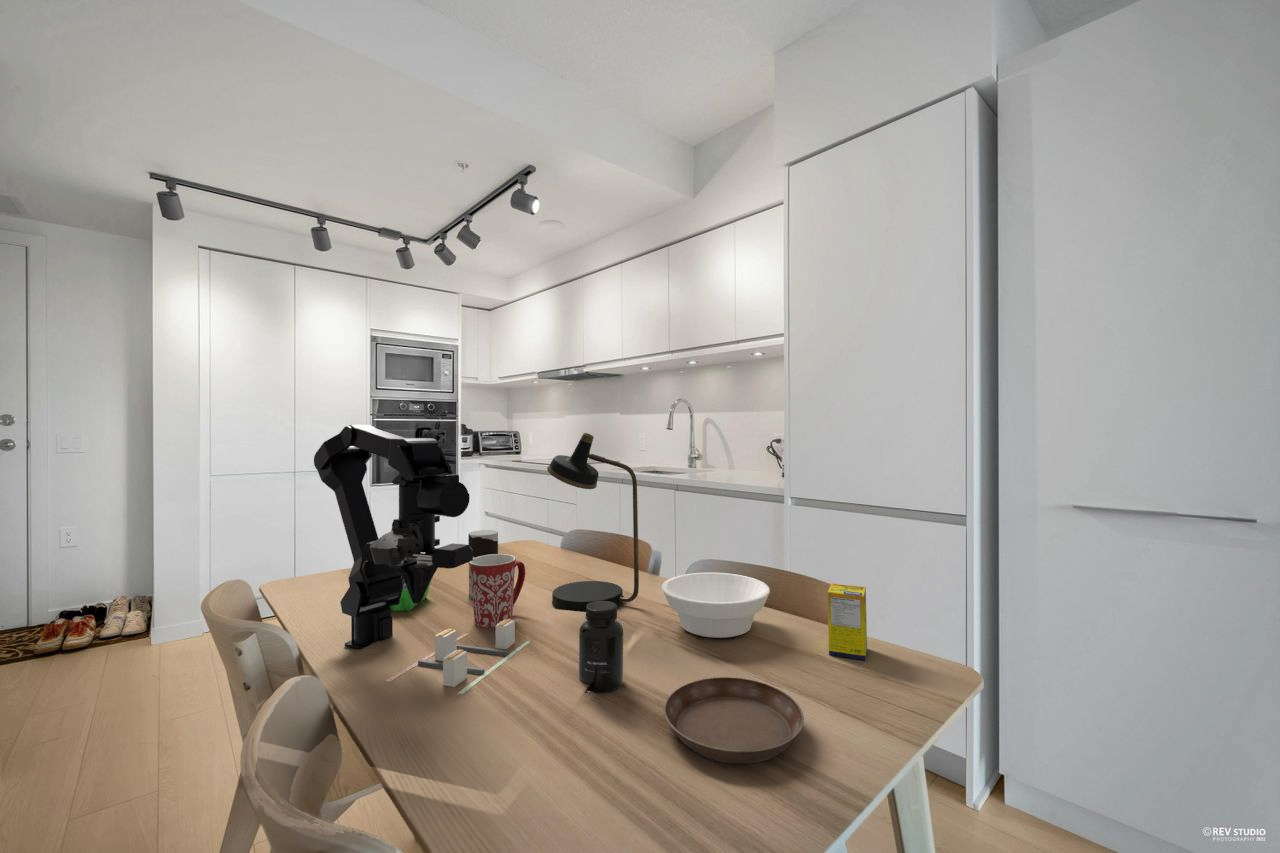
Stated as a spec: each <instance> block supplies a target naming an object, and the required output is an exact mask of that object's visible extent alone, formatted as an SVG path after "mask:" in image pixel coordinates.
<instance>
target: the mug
mask: <svg viewBox="0 0 1280 853" xmlns="http://www.w3.org/2000/svg"><path fill="white" fill-rule="evenodd" d="M469 564H470V568H471V583H472V596H473V600H472V608H473V620H474V622H473V623H474V625H475V626H477V627H481V628H496V625H497V624H498V623H500V622H501V621H503V620H505V619H506V620H507V619H512V620H513V614H514V611H513V610H514V606H515V604H516V603H517V600H518V599H519V596H520V594H521V591H522V589H523V586H524V582H525V578H526V566H525V564H524V563H523V562H522V561H520V560H517V558H516V556H514V555H511V554H507V553H498V554H490V555H484V556H479V557H476V558H473V561H470V562H468V565H469ZM515 568H517V570H518V573H517V579H516V582H515V572H516V571H515Z"/></svg>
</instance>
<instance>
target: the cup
mask: <svg viewBox="0 0 1280 853" xmlns="http://www.w3.org/2000/svg"><path fill="white" fill-rule="evenodd" d="M467 543H468V544H467V545H469V546H470V547H471V548H472V550H473V558H476V557H479V556H484V555H490V554H499V531H497V530H496V529H495V530H492V529H483V530H474V531H471V532H469V533H468V542H467ZM469 598H470V599H469ZM468 599H469V600H471V599H473V596H472V583H471V568H470V564H469V563H468Z"/></svg>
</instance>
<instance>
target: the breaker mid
mask: <svg viewBox="0 0 1280 853" xmlns="http://www.w3.org/2000/svg"><path fill="white" fill-rule="evenodd" d="M457 633H458V632H457V630H455V629H454V628H447V629H445V630H442V631H441V632H439V633H437V634H435V635H434V652H435V655H434V660H435V661H437V662H438V661H440V662H443V658H444V657H446V656H447V655H449V654H451V653H452V652H454V651H455V650H457V642H458V641H457V638H458V637H457V635H458V634H457Z"/></svg>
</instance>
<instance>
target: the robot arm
mask: <svg viewBox="0 0 1280 853" xmlns="http://www.w3.org/2000/svg"><path fill="white" fill-rule="evenodd" d="M373 454H374V455H377V456H379V457H382V458H384V459H386V460H387V464H388V466H389V467H390V468H392V469H394V471H396V472H398V473H399V474H398V475H397V476H395V477H394V478H393V479H392V484H393V485H398V518H394V519H393V521H392V523H391V530H390V531H389V532H387V533H384V534H383V535H382V536H380V537H379V536H378V532H377V528H376V525H375V522H374V518H373V516H372V512H371V508H370V504H369V502H368V499H367V496H366V492H365V489H364V485H363V481H364V479H365V475H366V473H367V469H368V467H367V463H368V461H370V459H371V458H372V457H373ZM313 466H314V467H315V469H316V470H317V473H318V475H319V476H318V477H319V479H320V481H321V482H322V483H323V484H324V485H326V486H327V487H328V488H330V490H332V492H334V495H335V498H336V502H337V506H338V508H339V514H340V516H341V520H342V524H343V527H344V530H345V533H346V538H347V541H348V544H349V547H350V551H351V555H352V558H353V564H352V567H351V570H350V572H349V576H348V585H349V587H348V589H347V590H346V592H345V593H344V595H343V597H341V599H340V608H341V613H342V614H344V615H346V616H350V617H351V622H350V623H351V624H350V625H351V626H350V627H351V632H350V634H351V636H350V637H351V638H350V639H351V640H348V641H346V642H344V647H347V648H354V649H362V650H363V649H365V648H367V647H369V646H371V645H373V644H375V643H377V642H383V641H385V640H387V639H390V638H391V637H392V636H393V627H394V626H393V625H394V624H393V616H392V610H391V606H394V605H399V603H400V598H401V594H402V589H403V584H404V581H405V584H406V586H407V589H408V592H409V594H410V597H411V599H412V602H413V603H415V604H418V603H419V604H421V603H422V602H423V600H422V598H423V596H424V594H425V592H426V590H427V587H428V585H429V583H430V584H431V582H432V580H433V577H434V575H435V573H436V571H437V570H438V568H439V569H440V568H441V569H447V570H448V569H455V568H457V567H461V566H463V565H465V564H467V563H468V564H469V562H470V561H473V550H472V548H471V547H470V546H469V544H465V543H449V544H446V545H443V546H441V547H438V546H440V544H441V543H440V541H441V539H440V538H436V523H438V522H440V521H441V518H440V516H442V517H447V518H448V517H449V518H457V517H460V516H461V515H463V514H464V512H466V510H467V509H468V506H469V504H470V493H469V491H468V489H467V487H466V485H465V484H463V483H462V482H460V475H459V474H454V473H453V471H452V467H451V464H450V463H449V462H448V460H447V458H446V456H445V453H444V451H443V449H442V448H441V446H440V443H439V441H438V440H437V439H435V438H432V437H430V438H429V437H428V438H427V437H404V436H401V435H397V434H394V433H391V432H387V431H384V430H381V429H378V428H376V427H375V426H372V425H370V424H349V425H348V426H344V427H343V429H342V430H341V431H340V432H339V433H338V434H336V435H334V436H332V437H330V438H329V439H327V440H324V441H323V443H322V444H321V445H320V446H319V448H318V449H317V451H316V453H315V454H314V457H313ZM403 579H404V581H403ZM431 579H432V580H431ZM430 581H431V582H430ZM421 601H422V602H421ZM419 604H418V605H419Z"/></svg>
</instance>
